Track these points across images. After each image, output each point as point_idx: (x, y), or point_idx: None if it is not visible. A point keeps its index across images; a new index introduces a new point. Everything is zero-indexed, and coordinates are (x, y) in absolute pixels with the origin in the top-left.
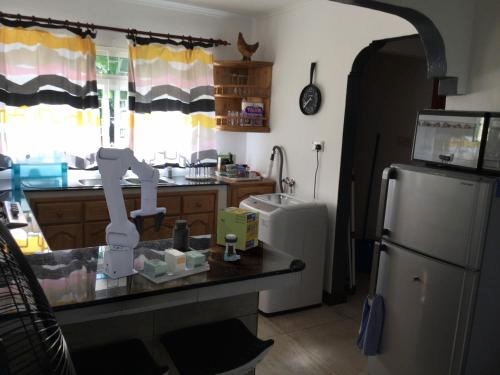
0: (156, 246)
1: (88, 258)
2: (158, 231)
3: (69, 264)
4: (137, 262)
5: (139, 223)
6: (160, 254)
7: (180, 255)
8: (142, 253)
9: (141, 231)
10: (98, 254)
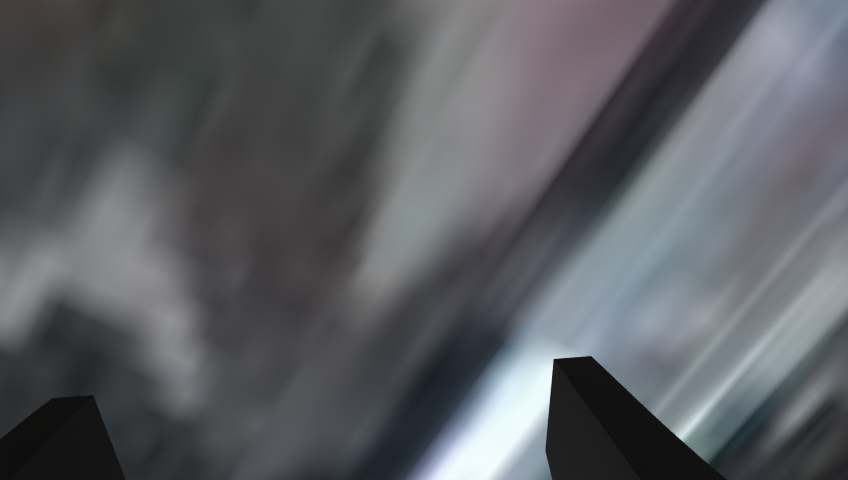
0: None
1: (821, 427)
2: (57, 406)
3: None
4: (576, 74)
5: None
6: (164, 190)
7: None
8: (346, 326)
9: (619, 414)
10: None
